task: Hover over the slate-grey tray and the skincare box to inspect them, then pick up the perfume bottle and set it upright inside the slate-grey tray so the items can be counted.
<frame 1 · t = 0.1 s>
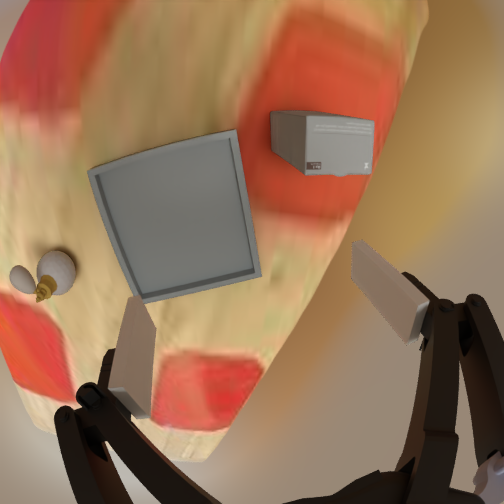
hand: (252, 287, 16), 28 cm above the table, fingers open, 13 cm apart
skincare box: (293, 132, 39), on the table
perfume bottle: (58, 260, 41), on the table
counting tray: (178, 220, 42), on the table
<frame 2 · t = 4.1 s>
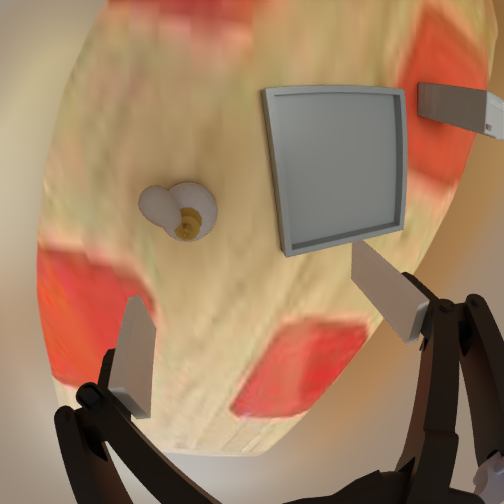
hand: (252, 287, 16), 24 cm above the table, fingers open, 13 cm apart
skincare box: (430, 104, 36), on the table
perfume bottle: (181, 200, 37), on the table
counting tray: (342, 164, 39), on the table
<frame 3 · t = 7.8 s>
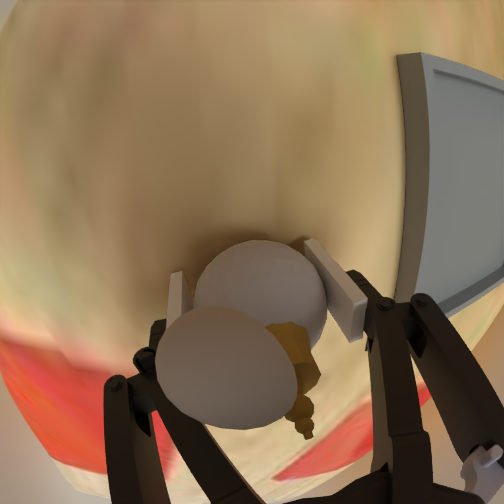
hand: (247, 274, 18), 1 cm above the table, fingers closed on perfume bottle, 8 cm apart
perfume bottle: (233, 268, 18), on the table, touching gripper
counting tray: (478, 195, 20), on the table
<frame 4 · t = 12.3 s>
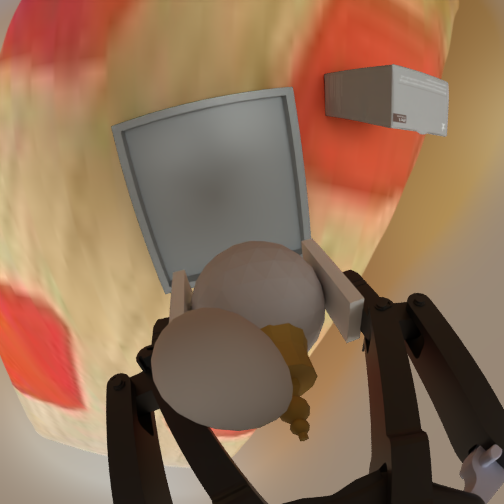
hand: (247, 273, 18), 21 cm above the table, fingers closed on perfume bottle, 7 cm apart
skincare box: (347, 98, 33), on the table
perfume bottle: (231, 268, 18), point 20 cm above the table, touching gripper
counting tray: (219, 190, 36), on the table
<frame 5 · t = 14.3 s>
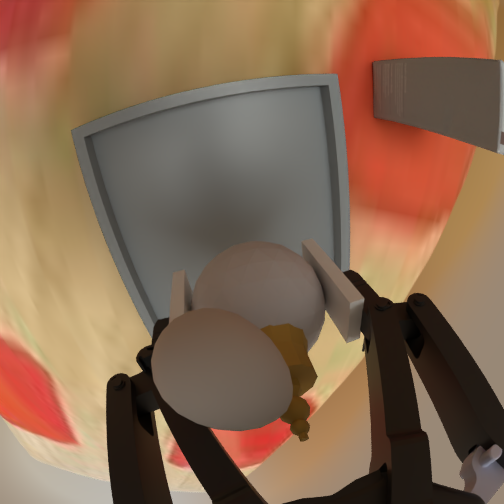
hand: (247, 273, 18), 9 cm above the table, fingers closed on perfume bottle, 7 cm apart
skincare box: (398, 97, 23), on the table
perfume bottle: (232, 268, 18), point 9 cm above the table, touching gripper
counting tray: (229, 219, 26), on the table
when the fingers open (3 cm above the table, at t = 16.3 s): perfume bottle drops 2 cm, point 1 cm above the table.
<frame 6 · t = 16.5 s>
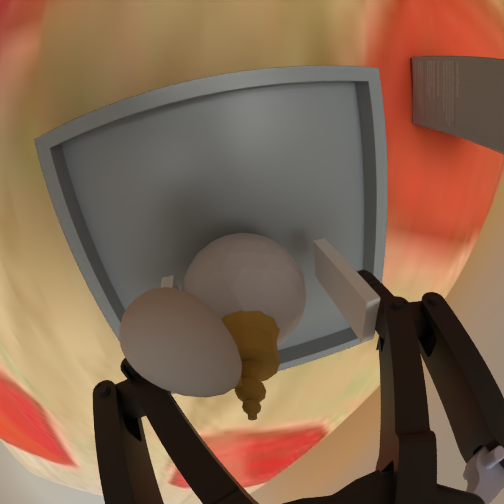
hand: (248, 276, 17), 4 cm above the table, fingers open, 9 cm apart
skincare box: (437, 100, 18), on the table
perfume bottle: (228, 256, 20), point 1 cm above the table, touching gripper
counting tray: (239, 249, 21), on the table
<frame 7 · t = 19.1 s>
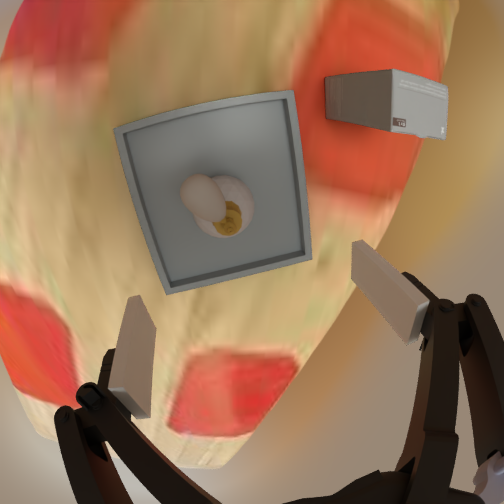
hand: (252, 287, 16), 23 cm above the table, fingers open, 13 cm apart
skincare box: (347, 102, 33), on the table
perfume bottle: (212, 194, 36), point 1 cm above the table, touching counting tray
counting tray: (220, 192, 36), on the table
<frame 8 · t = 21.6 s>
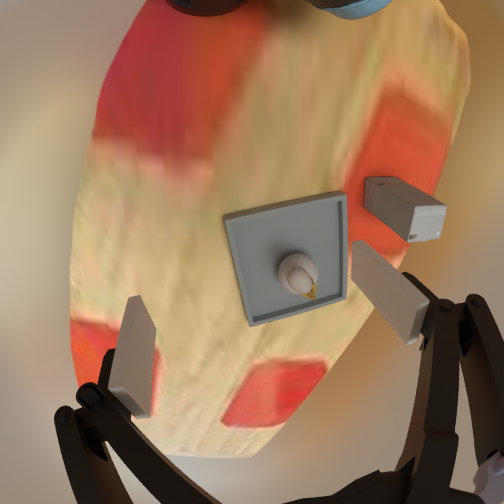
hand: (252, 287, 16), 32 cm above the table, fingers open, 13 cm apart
skincare box: (377, 192, 51), on the table
perfume bottle: (287, 262, 53), point 1 cm above the table, touching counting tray
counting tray: (291, 259, 54), on the table
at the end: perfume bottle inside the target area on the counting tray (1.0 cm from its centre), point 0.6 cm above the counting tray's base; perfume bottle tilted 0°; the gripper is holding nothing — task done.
